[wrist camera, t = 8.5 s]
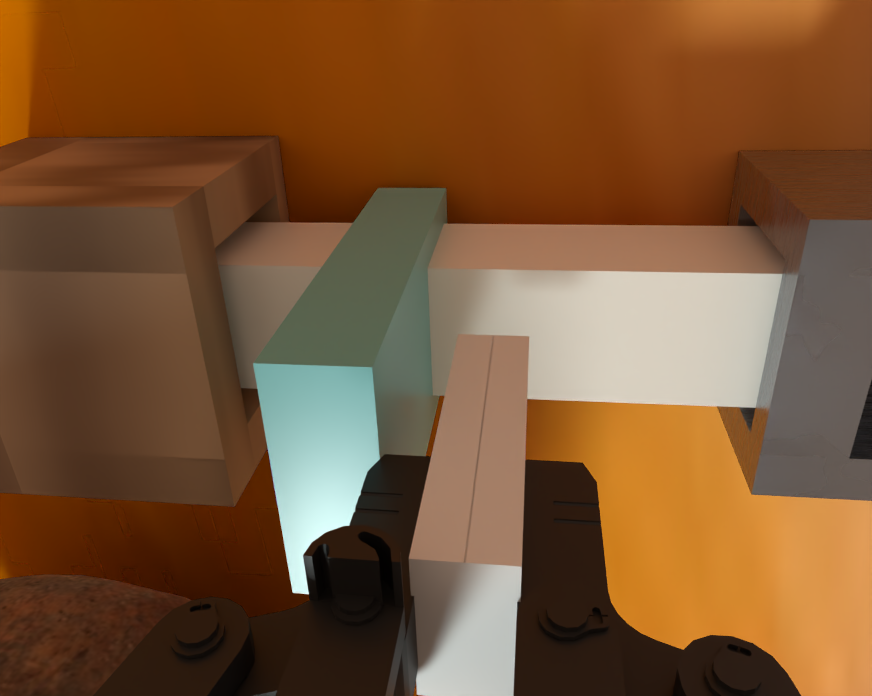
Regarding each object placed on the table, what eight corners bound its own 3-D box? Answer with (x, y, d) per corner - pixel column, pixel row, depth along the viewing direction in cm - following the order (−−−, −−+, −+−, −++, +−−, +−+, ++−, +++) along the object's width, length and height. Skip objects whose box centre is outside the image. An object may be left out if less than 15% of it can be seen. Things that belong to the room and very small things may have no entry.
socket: (278, 135, 21) (172, 206, 15) (309, 372, 25) (234, 506, 19) (26, 137, 22) (-167, 205, 16) (92, 365, 26) (-45, 489, 20)
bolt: (775, 188, 20) (978, 387, 11) (744, 356, 22) (887, 637, 13) (214, 187, 22) (-25, 353, 13) (241, 341, 24) (58, 575, 15)
